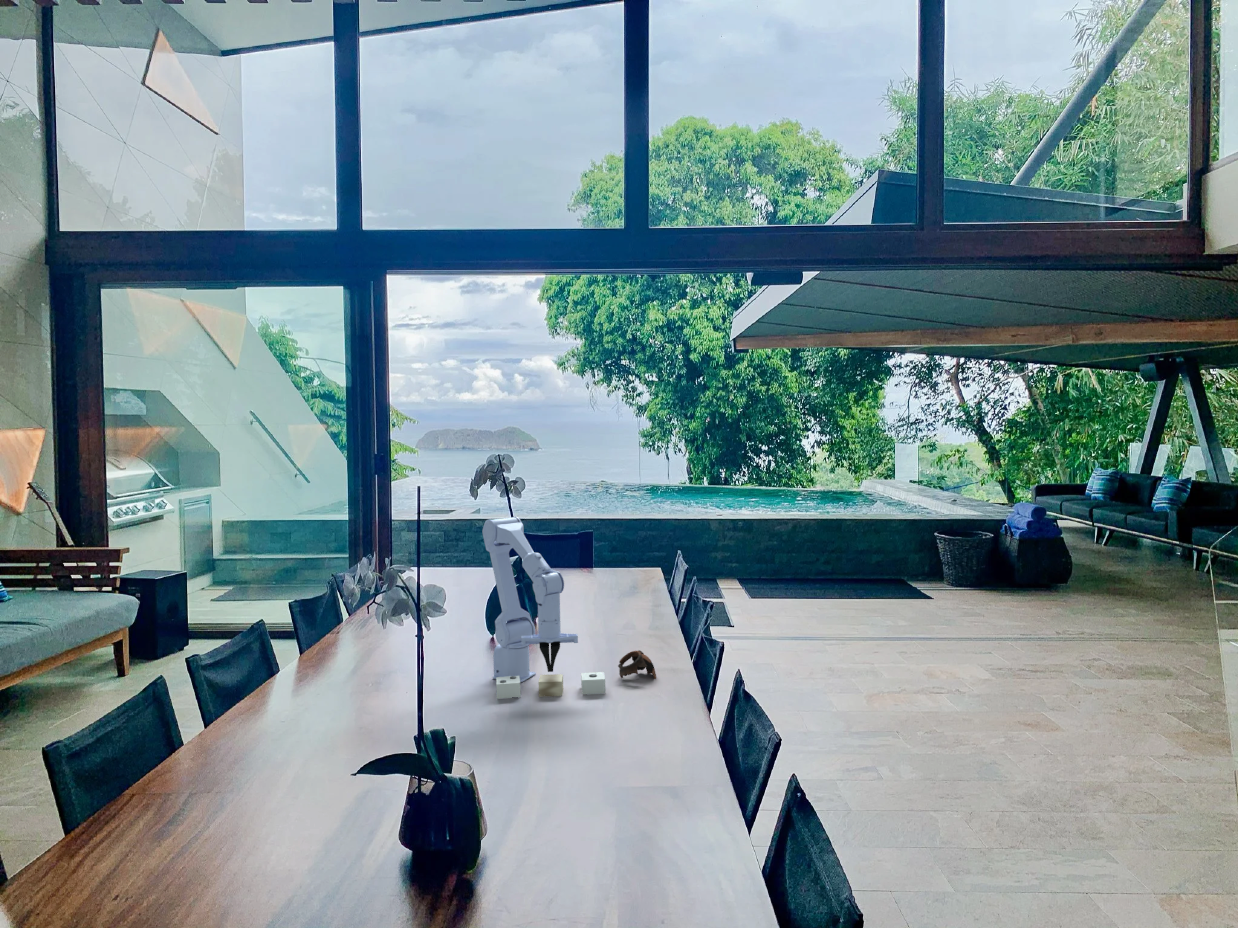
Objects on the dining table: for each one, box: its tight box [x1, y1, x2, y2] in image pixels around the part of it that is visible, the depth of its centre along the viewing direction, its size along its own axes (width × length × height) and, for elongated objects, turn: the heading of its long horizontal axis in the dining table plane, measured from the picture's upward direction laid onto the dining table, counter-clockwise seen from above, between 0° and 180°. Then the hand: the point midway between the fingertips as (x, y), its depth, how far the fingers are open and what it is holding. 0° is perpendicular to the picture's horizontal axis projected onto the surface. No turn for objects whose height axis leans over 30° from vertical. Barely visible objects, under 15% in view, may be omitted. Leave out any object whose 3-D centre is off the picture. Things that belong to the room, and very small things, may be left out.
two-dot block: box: [495, 676, 522, 700], centre depth 221 cm, size 6×6×4 cm
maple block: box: [537, 673, 564, 698], centre depth 221 cm, size 6×6×4 cm
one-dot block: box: [580, 671, 606, 695], centre depth 222 cm, size 6×6×4 cm
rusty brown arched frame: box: [617, 649, 657, 680], centre depth 233 cm, size 12×10×8 cm
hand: (550, 670), depth 221 cm, fingers closed
